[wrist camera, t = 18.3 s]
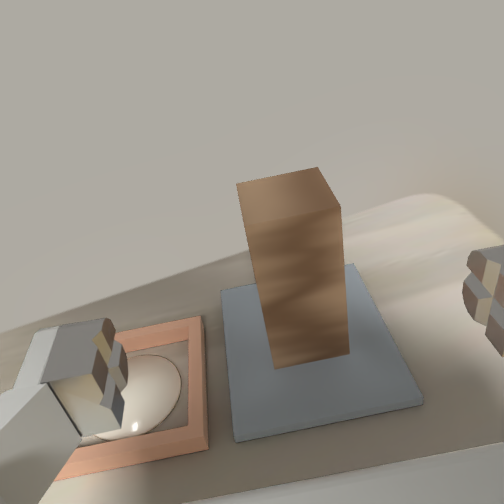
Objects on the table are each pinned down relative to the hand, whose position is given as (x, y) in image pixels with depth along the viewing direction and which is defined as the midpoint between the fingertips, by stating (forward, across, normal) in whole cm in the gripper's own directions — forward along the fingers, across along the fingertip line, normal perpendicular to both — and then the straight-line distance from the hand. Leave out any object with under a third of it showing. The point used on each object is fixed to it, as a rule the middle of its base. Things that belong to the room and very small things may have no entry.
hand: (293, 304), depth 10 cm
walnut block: (+12, -2, +14) cm, 18 cm away
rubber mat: (+12, -2, +14) cm, 19 cm away
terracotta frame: (+10, +9, +15) cm, 20 cm away
